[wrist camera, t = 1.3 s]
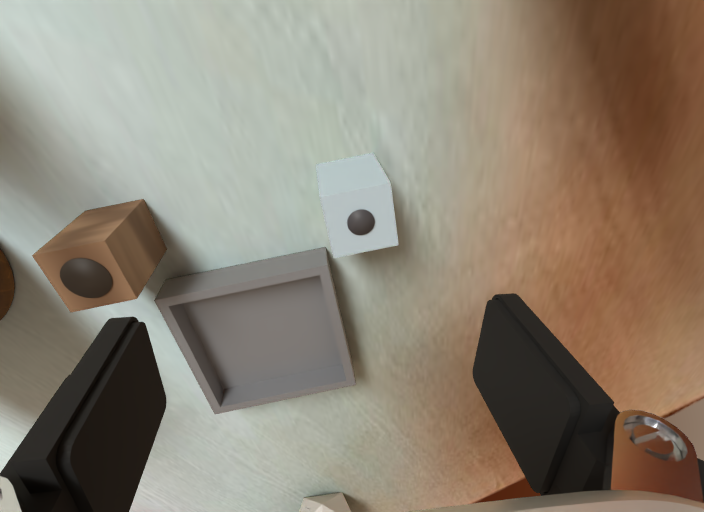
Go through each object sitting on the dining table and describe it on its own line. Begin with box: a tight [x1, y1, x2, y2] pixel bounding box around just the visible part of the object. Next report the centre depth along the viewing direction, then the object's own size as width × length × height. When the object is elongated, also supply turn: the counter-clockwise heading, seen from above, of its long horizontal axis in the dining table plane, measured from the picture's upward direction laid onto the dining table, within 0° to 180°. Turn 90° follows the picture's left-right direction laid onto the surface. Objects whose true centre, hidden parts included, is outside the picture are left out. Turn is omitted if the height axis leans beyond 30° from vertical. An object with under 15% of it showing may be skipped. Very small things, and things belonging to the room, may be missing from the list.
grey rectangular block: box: [316, 153, 399, 258], centre depth 29 cm, size 4×4×7 cm
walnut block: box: [32, 199, 167, 312], centre depth 28 cm, size 4×4×7 cm
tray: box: [154, 247, 356, 414], centre depth 36 cm, size 14×14×3 cm
